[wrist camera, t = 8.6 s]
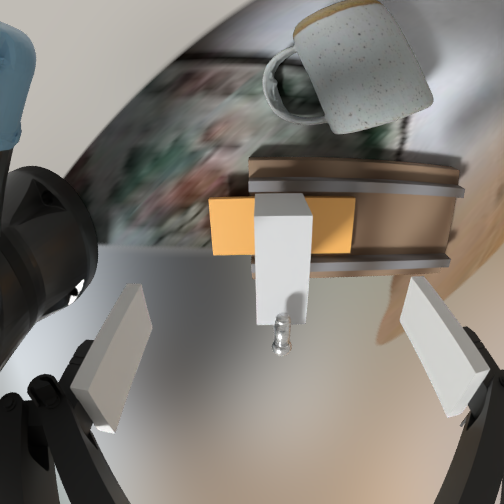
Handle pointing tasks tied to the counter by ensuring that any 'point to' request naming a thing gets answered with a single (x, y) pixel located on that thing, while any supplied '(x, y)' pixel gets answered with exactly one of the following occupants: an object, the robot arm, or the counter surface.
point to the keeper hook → (282, 334)
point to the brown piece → (372, 210)
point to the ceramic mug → (353, 68)
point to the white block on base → (281, 242)
